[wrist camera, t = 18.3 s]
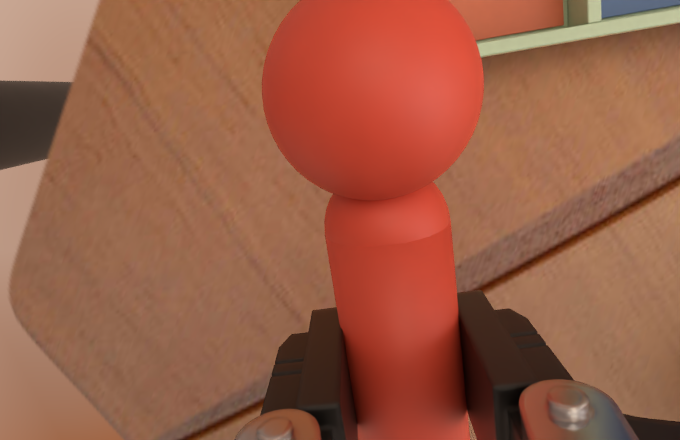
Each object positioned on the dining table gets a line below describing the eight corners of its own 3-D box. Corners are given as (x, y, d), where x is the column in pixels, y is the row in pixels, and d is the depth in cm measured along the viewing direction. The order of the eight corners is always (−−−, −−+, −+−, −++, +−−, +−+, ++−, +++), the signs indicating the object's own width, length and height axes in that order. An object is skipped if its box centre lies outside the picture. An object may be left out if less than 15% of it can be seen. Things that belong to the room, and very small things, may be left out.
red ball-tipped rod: (488, 473, 12) (541, 628, 9) (347, 487, 12) (344, 643, 9) (449, -20, 9) (508, -85, 6) (264, 11, 9) (212, -34, 6)
